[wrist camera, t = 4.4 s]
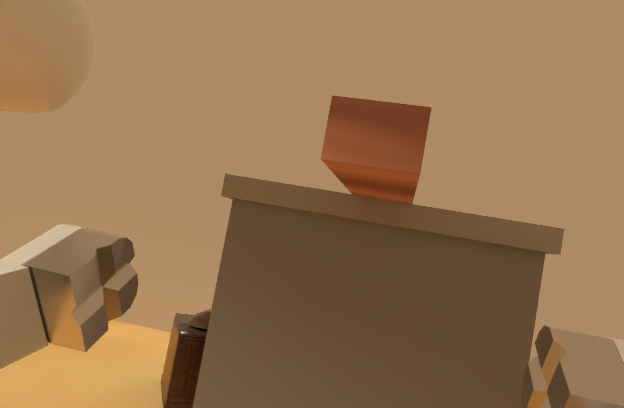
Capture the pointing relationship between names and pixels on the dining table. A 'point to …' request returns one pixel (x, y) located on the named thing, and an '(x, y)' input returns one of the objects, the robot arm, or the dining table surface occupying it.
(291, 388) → the shelf block
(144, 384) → the dining table surface
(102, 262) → the robot arm
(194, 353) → the manual coffee grinder
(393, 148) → the copper-colored stick
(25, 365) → the dining table surface
